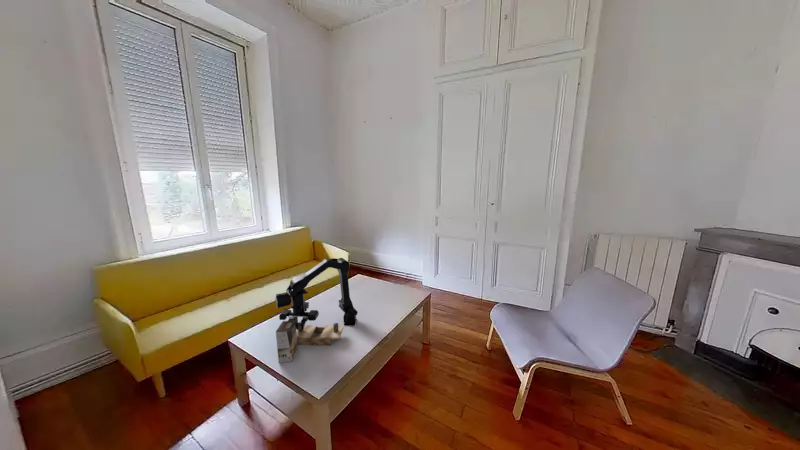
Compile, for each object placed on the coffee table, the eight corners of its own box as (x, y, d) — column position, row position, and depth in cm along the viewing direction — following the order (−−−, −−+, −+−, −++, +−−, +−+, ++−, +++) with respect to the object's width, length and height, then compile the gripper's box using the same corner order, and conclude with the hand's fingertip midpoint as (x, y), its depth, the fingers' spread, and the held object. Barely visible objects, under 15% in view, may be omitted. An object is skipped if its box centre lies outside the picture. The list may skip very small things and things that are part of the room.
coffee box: (292, 362, 124) (289, 331, 120) (278, 362, 123) (275, 332, 120) (298, 349, 133) (295, 320, 129) (284, 349, 132) (282, 320, 129)
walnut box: (335, 333, 145) (335, 327, 144) (330, 345, 135) (329, 338, 134) (299, 332, 145) (298, 326, 145) (291, 344, 136) (290, 337, 135)
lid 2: (343, 327, 144) (343, 319, 143) (339, 338, 134) (338, 330, 133) (325, 326, 144) (325, 318, 143) (320, 338, 135) (319, 329, 133)
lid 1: (316, 326, 144) (316, 318, 143) (310, 338, 135) (309, 329, 134) (298, 326, 145) (298, 317, 144) (291, 337, 135) (290, 328, 134)
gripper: (321, 295, 144) (322, 321, 147) (287, 294, 144) (289, 320, 147) (314, 305, 133) (316, 333, 136) (277, 304, 133) (280, 332, 137)
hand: (300, 329), depth 139 cm, fingers closed on lid 1, 2 cm apart
